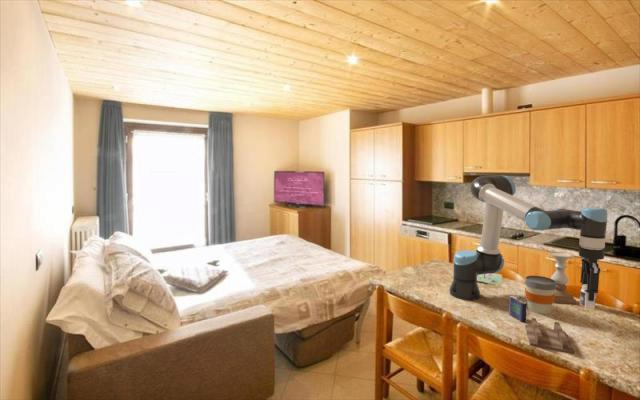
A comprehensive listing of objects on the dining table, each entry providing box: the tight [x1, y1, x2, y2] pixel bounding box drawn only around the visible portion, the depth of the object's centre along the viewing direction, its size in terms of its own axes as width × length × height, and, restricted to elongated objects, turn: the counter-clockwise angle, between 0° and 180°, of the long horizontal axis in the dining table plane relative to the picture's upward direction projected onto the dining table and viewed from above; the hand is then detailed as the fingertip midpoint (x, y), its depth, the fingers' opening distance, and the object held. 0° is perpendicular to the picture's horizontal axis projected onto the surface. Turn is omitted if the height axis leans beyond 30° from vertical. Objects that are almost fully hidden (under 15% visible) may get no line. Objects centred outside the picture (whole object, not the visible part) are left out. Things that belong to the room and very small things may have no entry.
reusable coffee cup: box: [524, 275, 556, 315], centre depth 155 cm, size 13×13×15 cm
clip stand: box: [524, 317, 576, 355], centre depth 129 cm, size 16×14×4 cm
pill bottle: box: [579, 284, 597, 309], centre depth 126 cm, size 5×5×8 cm
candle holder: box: [548, 251, 577, 305], centre depth 167 cm, size 11×11×24 cm
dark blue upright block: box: [508, 295, 528, 324], centre depth 147 cm, size 9×3×11 cm, turn 8°
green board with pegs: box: [477, 273, 503, 285], centre depth 201 cm, size 25×21×9 cm
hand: (587, 305), depth 127 cm, fingers closed on pill bottle, 5 cm apart
